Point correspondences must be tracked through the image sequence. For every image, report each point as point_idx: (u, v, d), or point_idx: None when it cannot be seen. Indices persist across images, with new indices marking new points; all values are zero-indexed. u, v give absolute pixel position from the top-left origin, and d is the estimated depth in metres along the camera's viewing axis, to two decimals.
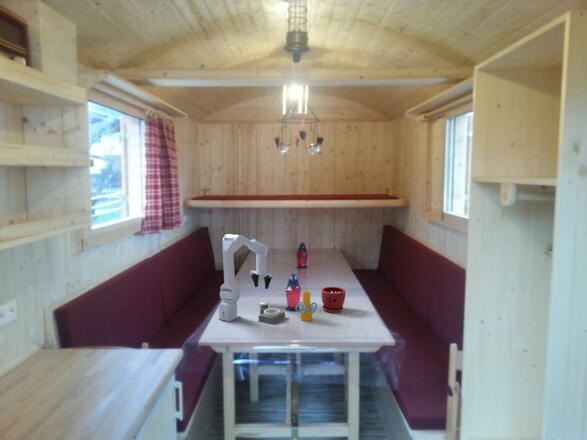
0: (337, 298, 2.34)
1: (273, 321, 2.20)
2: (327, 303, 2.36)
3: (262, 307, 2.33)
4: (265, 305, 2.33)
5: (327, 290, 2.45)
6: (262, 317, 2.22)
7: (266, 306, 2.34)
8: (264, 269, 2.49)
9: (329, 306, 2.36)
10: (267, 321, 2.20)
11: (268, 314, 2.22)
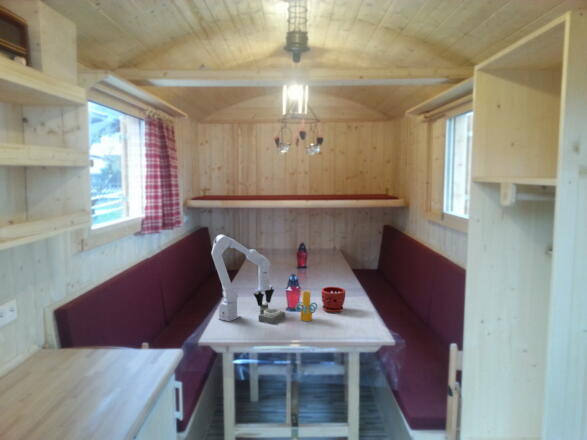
0: (337, 298, 2.34)
1: (273, 321, 2.20)
2: (327, 303, 2.36)
3: (262, 307, 2.33)
4: (265, 305, 2.33)
5: (327, 290, 2.45)
6: (262, 317, 2.22)
7: (266, 306, 2.34)
8: (260, 284, 2.32)
9: (329, 306, 2.36)
10: (267, 321, 2.20)
11: (268, 314, 2.22)
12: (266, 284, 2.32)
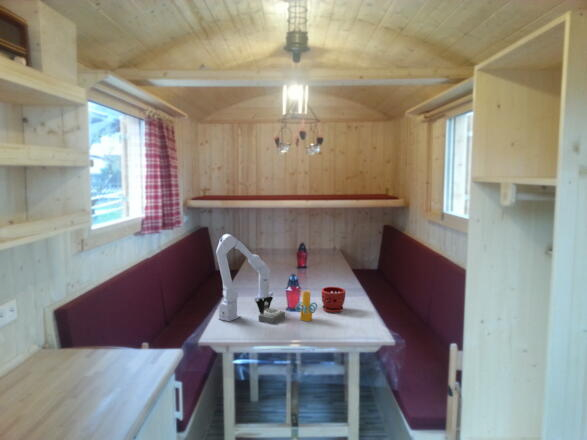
0: (337, 298, 2.34)
1: (273, 321, 2.20)
2: (327, 303, 2.36)
3: None
4: (265, 305, 2.33)
5: (327, 290, 2.45)
6: (262, 317, 2.22)
7: (266, 306, 2.34)
8: (260, 292, 2.33)
9: (329, 306, 2.36)
10: (267, 321, 2.20)
11: (268, 314, 2.22)
12: (266, 291, 2.32)
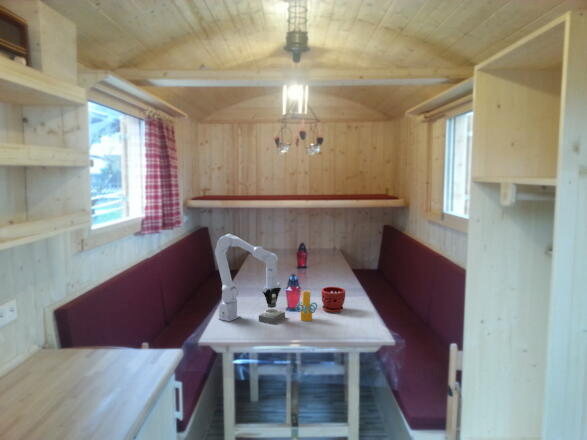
0: (337, 298, 2.34)
1: (273, 321, 2.20)
2: (327, 303, 2.36)
3: None
4: (272, 297, 2.23)
5: (327, 290, 2.45)
6: (262, 317, 2.22)
7: (273, 298, 2.24)
8: (267, 282, 2.22)
9: (329, 306, 2.36)
10: (267, 321, 2.20)
11: (268, 314, 2.22)
12: (274, 282, 2.22)
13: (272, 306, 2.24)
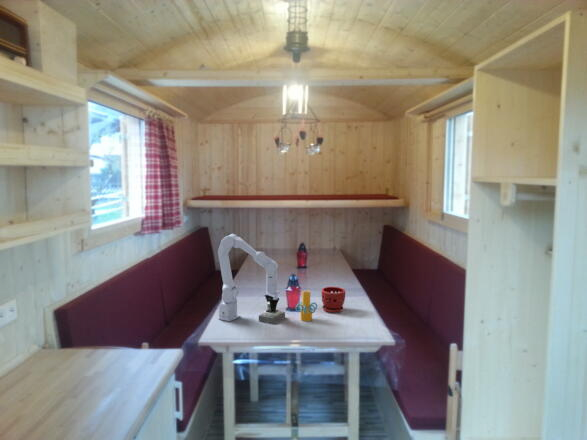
0: (337, 298, 2.34)
1: (273, 321, 2.20)
2: (327, 303, 2.36)
3: None
4: None
5: (327, 290, 2.45)
6: (262, 317, 2.22)
7: None
8: (272, 290, 2.22)
9: (329, 306, 2.36)
10: (267, 321, 2.20)
11: (268, 314, 2.22)
12: None
13: None
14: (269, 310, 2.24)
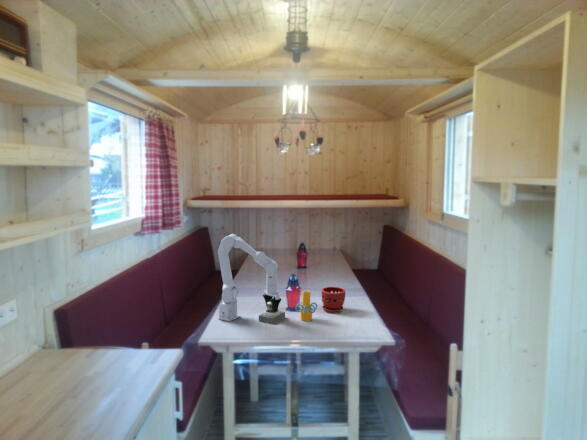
0: (337, 298, 2.34)
1: (273, 321, 2.20)
2: (327, 303, 2.36)
3: None
4: None
5: (327, 290, 2.45)
6: (262, 317, 2.22)
7: None
8: (272, 290, 2.22)
9: (329, 306, 2.36)
10: (267, 321, 2.20)
11: (268, 314, 2.22)
12: None
13: (275, 312, 2.25)
14: (270, 310, 2.24)
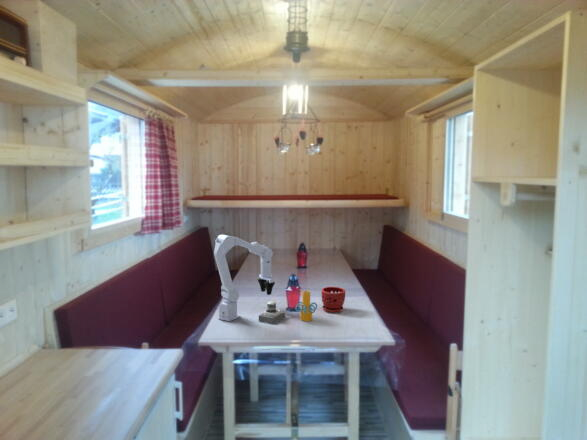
0: (337, 298, 2.34)
1: (273, 321, 2.20)
2: (327, 303, 2.36)
3: (273, 306, 2.24)
4: (275, 304, 2.25)
5: (327, 290, 2.45)
6: (262, 317, 2.22)
7: (275, 305, 2.26)
8: (267, 274, 2.37)
9: (329, 306, 2.36)
10: (267, 321, 2.20)
11: (268, 314, 2.22)
12: None
13: None
14: (270, 310, 2.24)
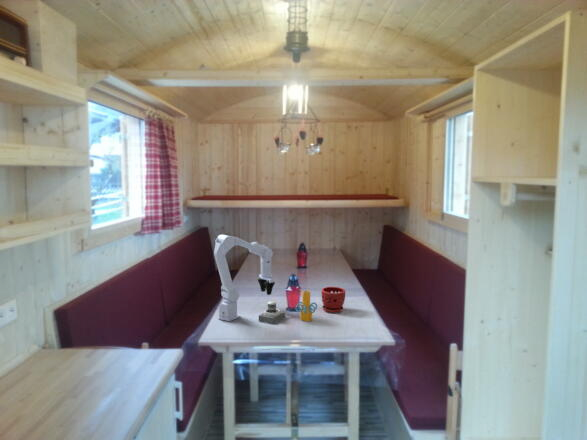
0: (337, 298, 2.34)
1: (273, 321, 2.20)
2: (327, 303, 2.36)
3: (273, 306, 2.24)
4: (275, 304, 2.25)
5: (327, 290, 2.45)
6: (262, 317, 2.22)
7: (275, 305, 2.26)
8: (267, 274, 2.37)
9: (329, 306, 2.36)
10: (267, 321, 2.20)
11: (268, 314, 2.22)
12: None
13: None
14: (270, 310, 2.24)
